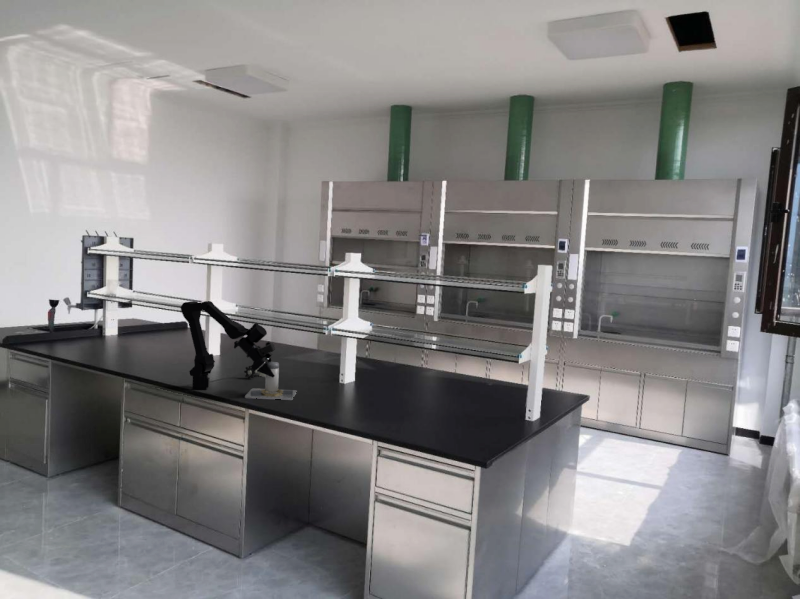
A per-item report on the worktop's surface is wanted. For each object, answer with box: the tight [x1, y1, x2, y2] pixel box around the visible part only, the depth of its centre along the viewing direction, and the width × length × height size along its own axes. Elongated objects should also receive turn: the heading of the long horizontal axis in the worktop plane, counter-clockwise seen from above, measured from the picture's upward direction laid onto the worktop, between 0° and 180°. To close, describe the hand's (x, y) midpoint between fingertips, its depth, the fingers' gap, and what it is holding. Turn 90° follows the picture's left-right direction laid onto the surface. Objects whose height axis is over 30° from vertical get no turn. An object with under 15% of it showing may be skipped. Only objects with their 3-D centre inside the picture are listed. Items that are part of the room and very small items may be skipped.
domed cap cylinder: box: [264, 361, 280, 392], centre depth 274 cm, size 6×6×12 cm
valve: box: [243, 365, 266, 380], centre depth 308 cm, size 7×7×12 cm
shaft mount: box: [244, 387, 298, 401], centre depth 274 cm, size 20×14×2 cm
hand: (275, 375), depth 274 cm, fingers open, 6 cm apart
